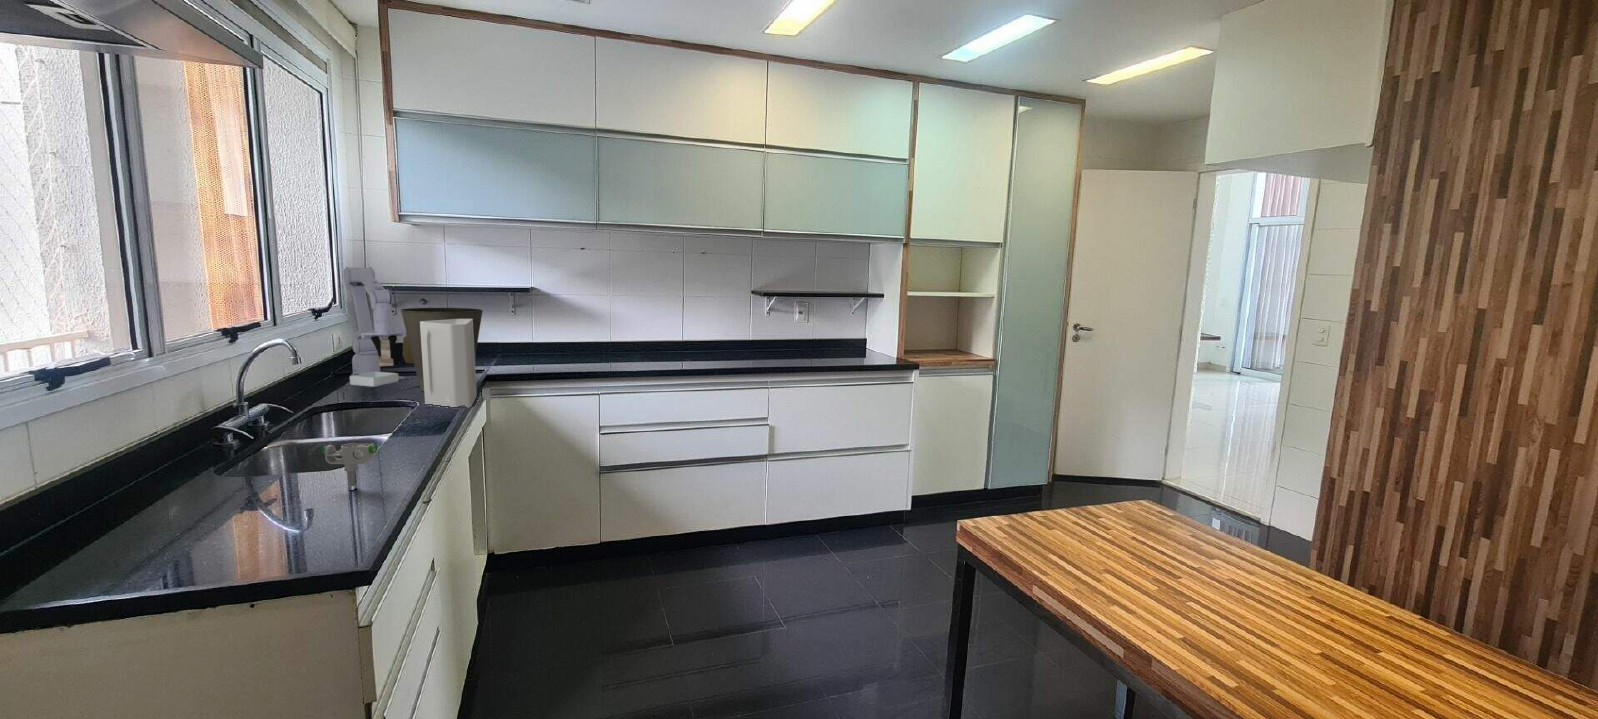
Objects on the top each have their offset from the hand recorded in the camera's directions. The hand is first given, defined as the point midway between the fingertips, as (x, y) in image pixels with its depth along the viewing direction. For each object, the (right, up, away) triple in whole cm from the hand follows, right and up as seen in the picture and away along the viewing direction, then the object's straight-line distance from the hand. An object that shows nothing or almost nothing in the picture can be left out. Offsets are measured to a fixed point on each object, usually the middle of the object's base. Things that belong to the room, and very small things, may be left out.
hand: (385, 355), depth 254 cm
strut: (0, -4, +1) cm, 4 cm away
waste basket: (+28, -13, -8) cm, 32 cm away
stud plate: (0, -10, +6) cm, 11 cm away
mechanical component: (+65, -30, -112) cm, 133 cm away
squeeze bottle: (-16, -3, +45) cm, 48 cm away
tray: (-1, -11, -5) cm, 12 cm away
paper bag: (+41, -17, -30) cm, 54 cm away
